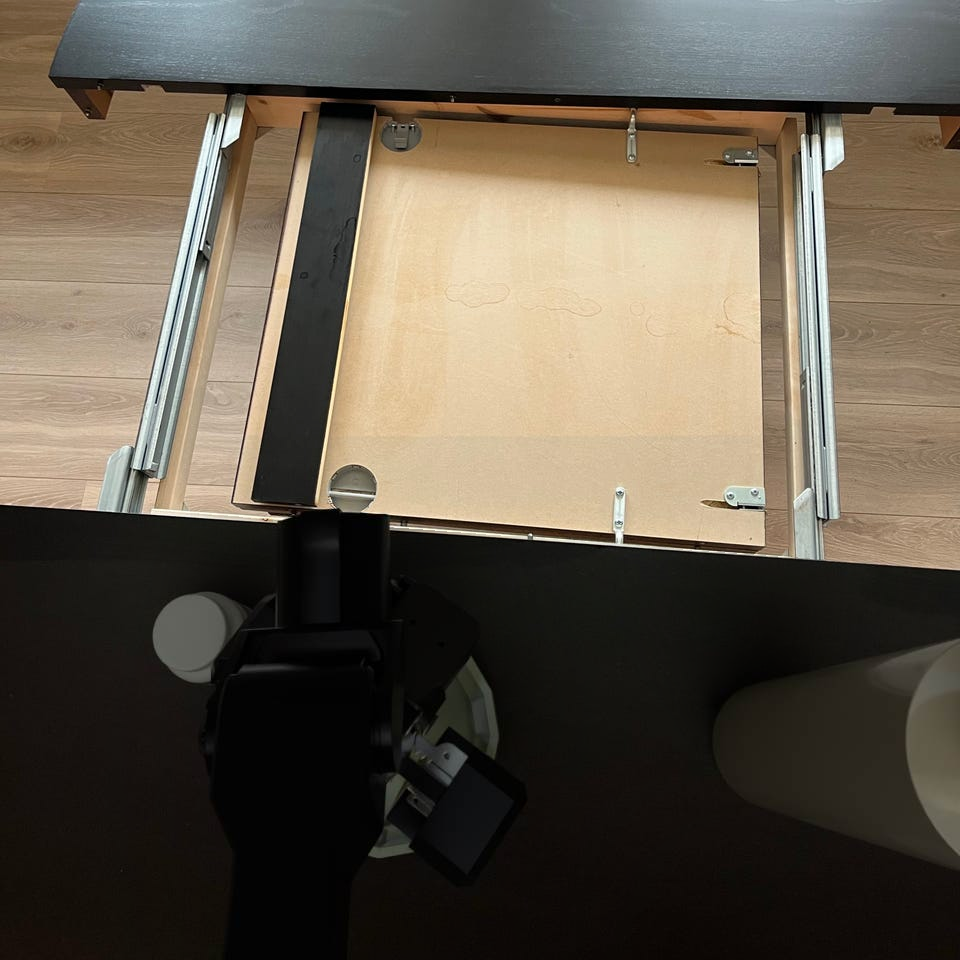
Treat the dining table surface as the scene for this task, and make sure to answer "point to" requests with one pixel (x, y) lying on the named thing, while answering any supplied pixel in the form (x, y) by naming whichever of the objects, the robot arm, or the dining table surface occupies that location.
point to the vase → (855, 749)
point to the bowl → (463, 712)
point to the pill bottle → (196, 633)
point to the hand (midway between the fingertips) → (385, 733)
